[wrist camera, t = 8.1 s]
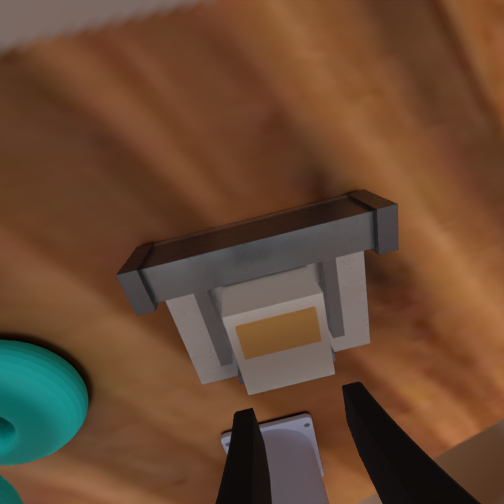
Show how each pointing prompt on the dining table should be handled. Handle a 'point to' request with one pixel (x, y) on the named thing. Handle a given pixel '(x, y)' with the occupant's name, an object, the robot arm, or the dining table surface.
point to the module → (278, 329)
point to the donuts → (36, 406)
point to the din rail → (264, 271)
